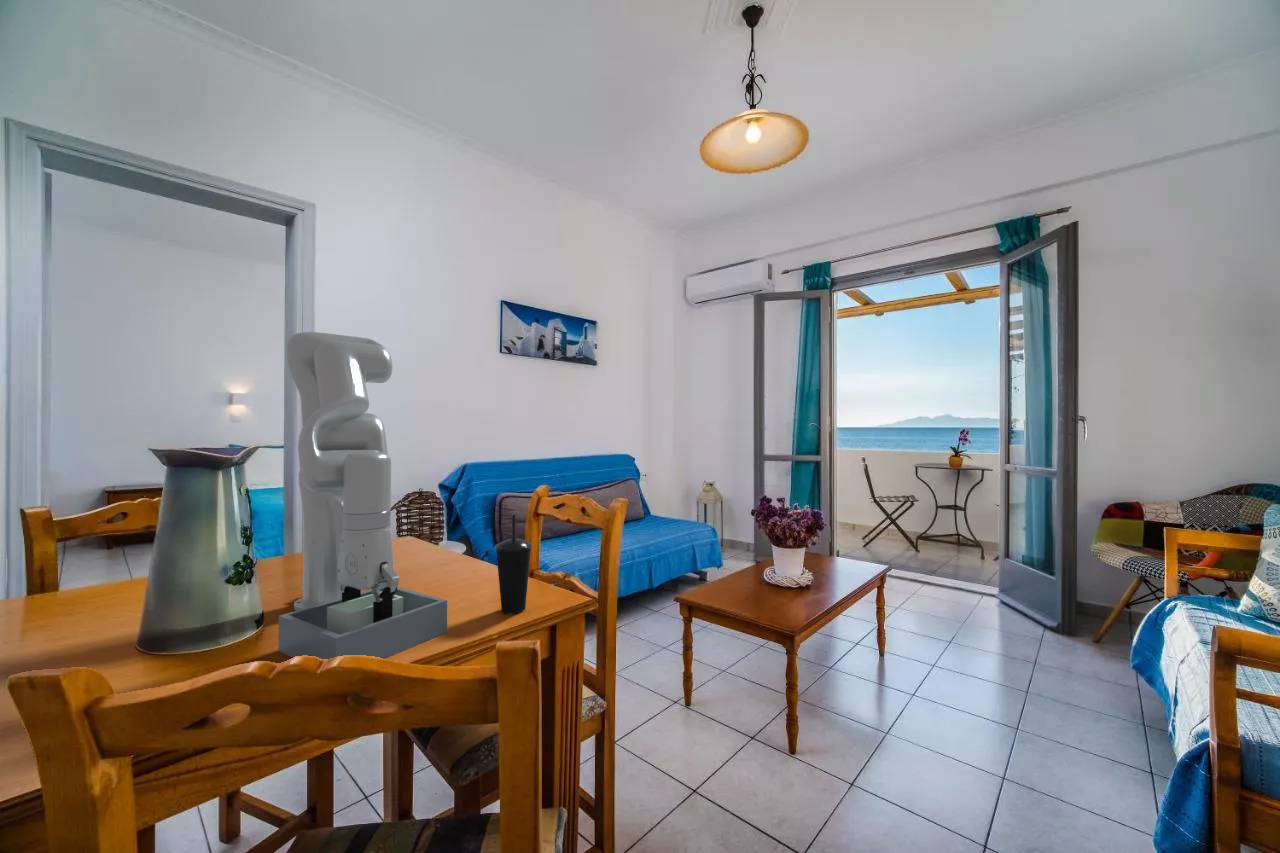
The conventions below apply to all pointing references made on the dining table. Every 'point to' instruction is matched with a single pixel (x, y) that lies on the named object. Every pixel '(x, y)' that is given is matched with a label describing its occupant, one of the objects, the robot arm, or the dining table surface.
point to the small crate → (356, 613)
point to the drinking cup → (513, 572)
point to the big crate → (363, 629)
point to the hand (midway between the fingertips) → (366, 617)
